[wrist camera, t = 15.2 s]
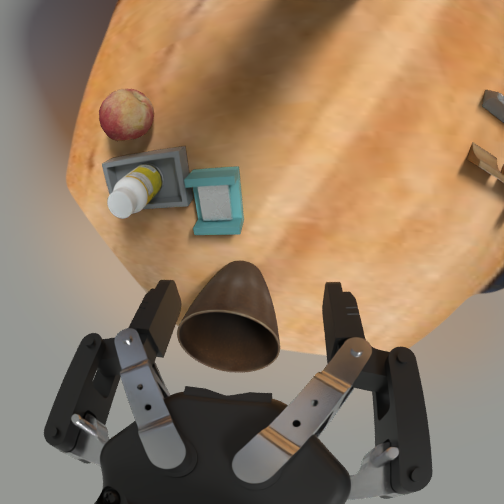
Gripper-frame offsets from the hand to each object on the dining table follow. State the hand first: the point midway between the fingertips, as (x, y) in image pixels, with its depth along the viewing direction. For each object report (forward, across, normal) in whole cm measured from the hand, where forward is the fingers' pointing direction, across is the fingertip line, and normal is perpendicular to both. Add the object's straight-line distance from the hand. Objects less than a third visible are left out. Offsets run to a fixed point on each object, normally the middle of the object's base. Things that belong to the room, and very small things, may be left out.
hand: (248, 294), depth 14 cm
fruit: (+28, +19, -9) cm, 35 cm away
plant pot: (+28, +6, +22) cm, 36 cm away
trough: (+28, +19, +2) cm, 34 cm away
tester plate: (+26, +8, +6) cm, 28 cm away
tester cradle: (+28, +8, +6) cm, 30 cm away
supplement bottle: (+28, +19, +2) cm, 33 cm away
